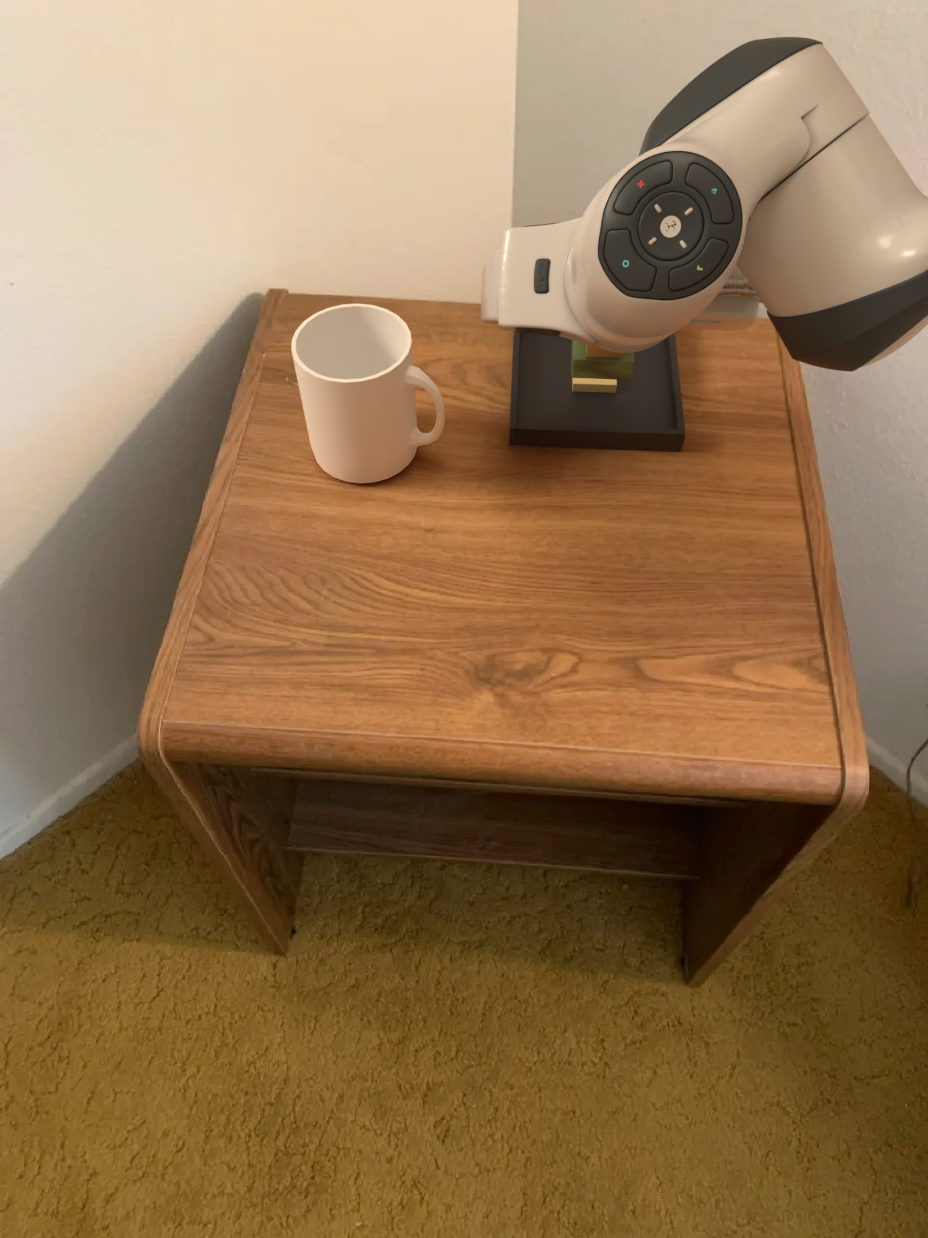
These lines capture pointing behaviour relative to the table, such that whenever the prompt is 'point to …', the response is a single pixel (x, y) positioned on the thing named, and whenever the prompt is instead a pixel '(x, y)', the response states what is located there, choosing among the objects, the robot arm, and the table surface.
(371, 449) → the mug
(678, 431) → the black tray
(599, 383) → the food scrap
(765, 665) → the table surface
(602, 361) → the scrub brush
